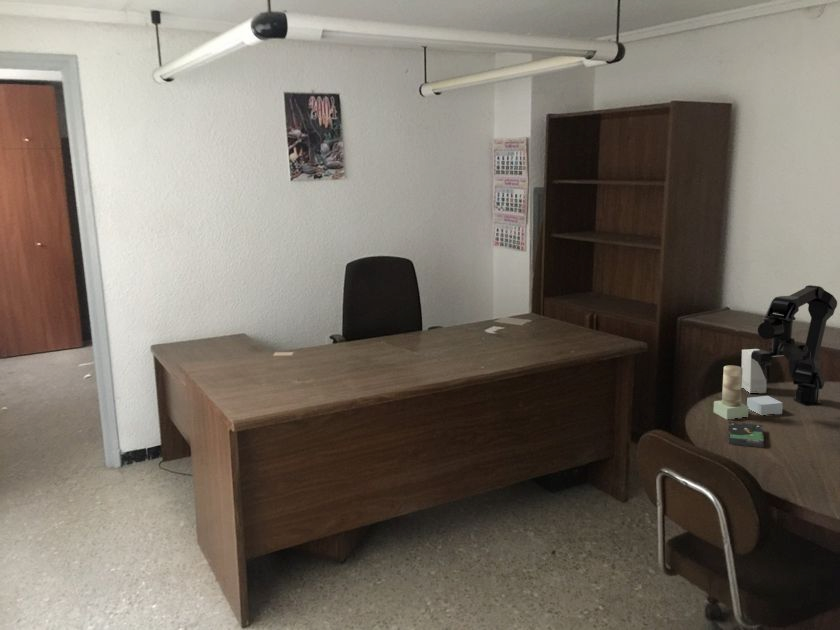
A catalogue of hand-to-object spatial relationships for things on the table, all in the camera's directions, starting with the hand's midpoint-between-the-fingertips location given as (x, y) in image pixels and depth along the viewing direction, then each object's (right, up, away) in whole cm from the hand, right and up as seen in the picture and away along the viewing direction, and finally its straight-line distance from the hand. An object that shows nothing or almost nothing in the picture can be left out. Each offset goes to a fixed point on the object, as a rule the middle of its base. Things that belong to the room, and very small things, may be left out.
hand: (779, 378), depth 243 cm
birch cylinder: (-15, -9, +3) cm, 18 cm away
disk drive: (-19, -18, -16) cm, 30 cm away
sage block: (-15, -13, +4) cm, 20 cm away
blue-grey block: (-2, -12, +6) cm, 14 cm away
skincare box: (+4, -7, +28) cm, 29 cm away
